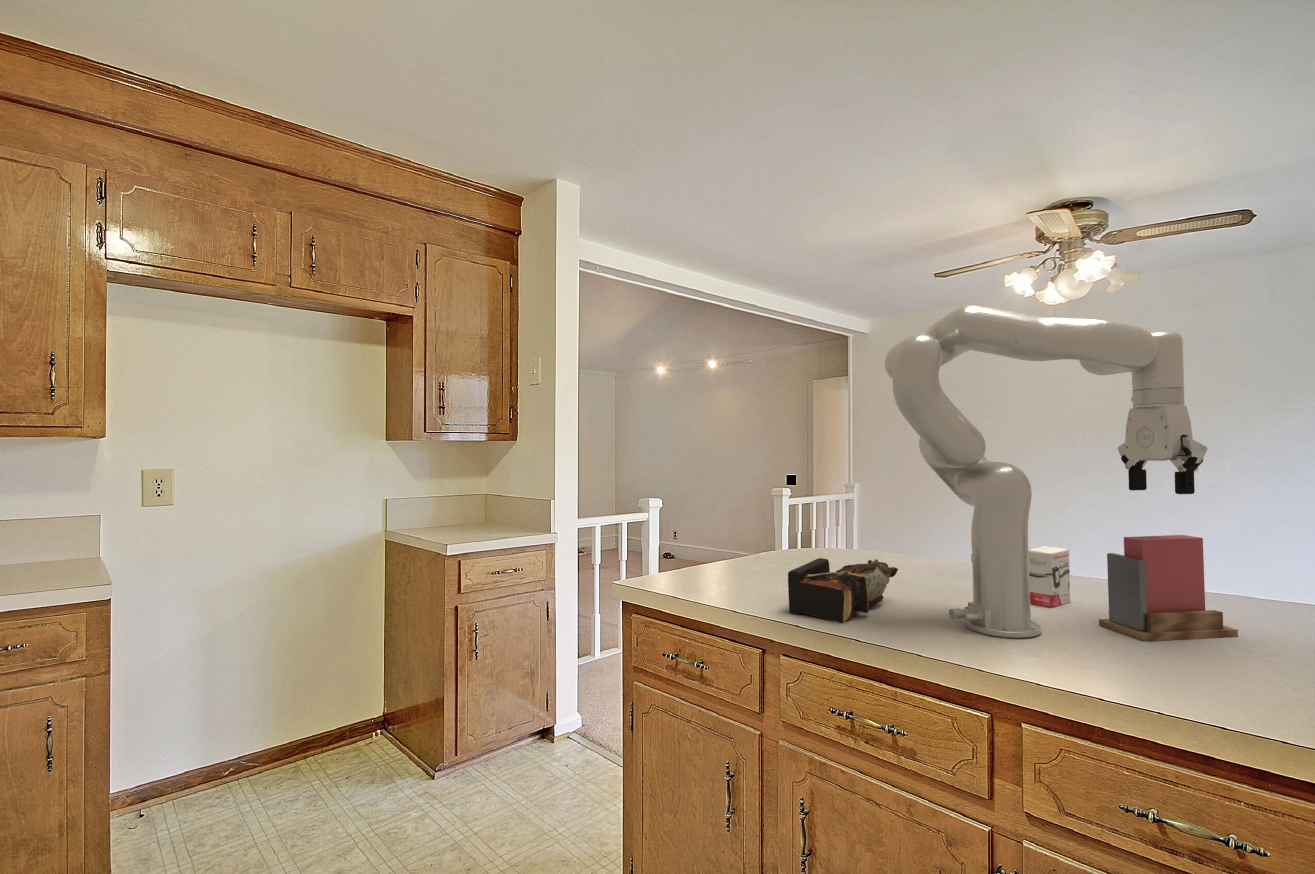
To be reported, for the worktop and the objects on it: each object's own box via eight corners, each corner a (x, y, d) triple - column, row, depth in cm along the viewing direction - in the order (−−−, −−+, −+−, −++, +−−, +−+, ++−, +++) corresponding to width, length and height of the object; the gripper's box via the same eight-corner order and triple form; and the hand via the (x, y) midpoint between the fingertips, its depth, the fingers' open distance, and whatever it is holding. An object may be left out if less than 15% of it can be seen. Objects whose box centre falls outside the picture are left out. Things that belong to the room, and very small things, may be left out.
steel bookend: (1141, 638, 111) (1138, 559, 111) (1109, 627, 118) (1106, 553, 118) (1147, 638, 111) (1145, 559, 111) (1115, 627, 118) (1112, 552, 118)
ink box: (1052, 608, 132) (1051, 552, 132) (1028, 603, 136) (1026, 549, 136) (1071, 602, 137) (1069, 548, 137) (1047, 597, 141) (1045, 545, 141)
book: (1145, 629, 112) (1142, 540, 113) (1126, 622, 116) (1123, 537, 117) (1205, 625, 114) (1202, 537, 114) (1185, 619, 118) (1182, 534, 118)
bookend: (784, 572, 132) (837, 544, 151) (789, 622, 133) (841, 588, 151) (850, 578, 122) (898, 548, 141) (855, 633, 123) (902, 595, 141)
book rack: (1144, 641, 109) (1143, 617, 109) (1099, 625, 119) (1098, 603, 119) (1238, 636, 111) (1237, 612, 111) (1185, 620, 121) (1184, 599, 121)
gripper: (1101, 403, 124) (1103, 489, 124) (1182, 396, 107) (1185, 496, 107) (1136, 402, 125) (1138, 488, 124) (1222, 395, 107) (1225, 495, 107)
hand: (1160, 491), depth 116 cm, fingers open, 9 cm apart
